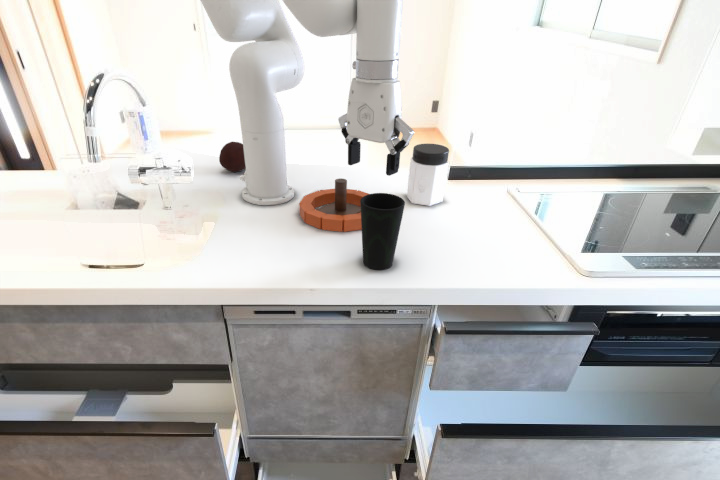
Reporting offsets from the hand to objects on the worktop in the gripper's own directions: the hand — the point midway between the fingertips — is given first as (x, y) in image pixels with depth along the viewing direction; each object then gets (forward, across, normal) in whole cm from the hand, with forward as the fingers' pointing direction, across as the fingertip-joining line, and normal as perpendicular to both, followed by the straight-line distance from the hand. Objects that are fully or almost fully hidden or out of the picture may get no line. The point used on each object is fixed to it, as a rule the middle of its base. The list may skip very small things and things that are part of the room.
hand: (372, 168), depth 90 cm
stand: (+12, -8, 0) cm, 15 cm away
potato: (+11, -48, +2) cm, 50 cm away
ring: (+12, -8, 0) cm, 15 cm away
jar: (+12, +1, +21) cm, 24 cm away
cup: (+12, +12, -12) cm, 21 cm away
